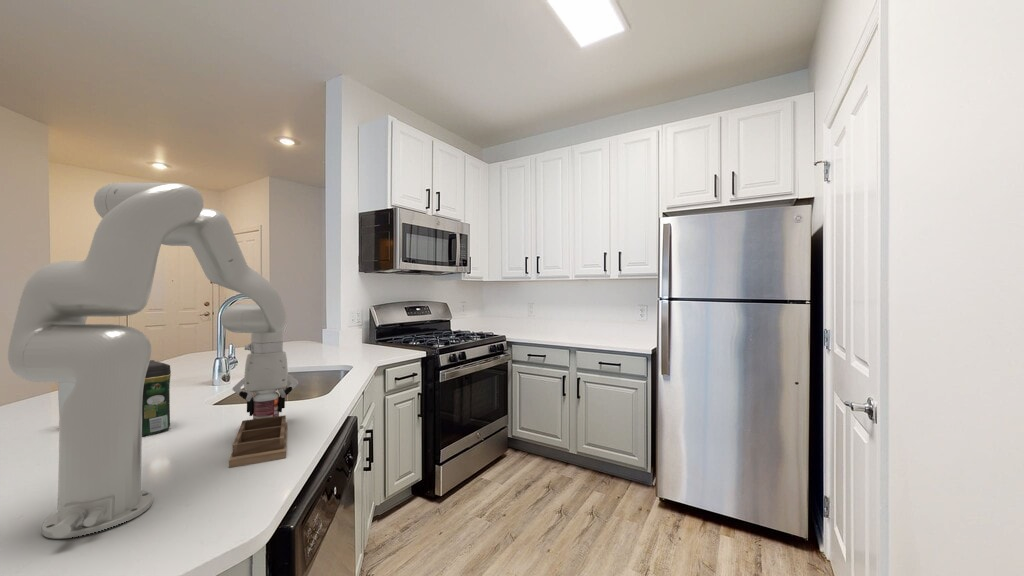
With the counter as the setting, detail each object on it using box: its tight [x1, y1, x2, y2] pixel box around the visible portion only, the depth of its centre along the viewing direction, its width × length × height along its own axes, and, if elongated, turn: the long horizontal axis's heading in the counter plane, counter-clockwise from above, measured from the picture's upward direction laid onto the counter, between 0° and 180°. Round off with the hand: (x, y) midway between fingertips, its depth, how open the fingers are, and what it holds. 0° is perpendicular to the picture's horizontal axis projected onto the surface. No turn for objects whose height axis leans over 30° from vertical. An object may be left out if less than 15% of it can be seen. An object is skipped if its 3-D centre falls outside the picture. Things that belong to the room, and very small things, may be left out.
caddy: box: [228, 415, 288, 469], centre depth 95 cm, size 22×10×4 cm, turn 29°
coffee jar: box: [142, 359, 172, 436], centre depth 104 cm, size 10×8×19 cm
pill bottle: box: [252, 389, 280, 419], centre depth 109 cm, size 6×6×11 cm
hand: (266, 412), depth 109 cm, fingers closed on pill bottle, 6 cm apart
